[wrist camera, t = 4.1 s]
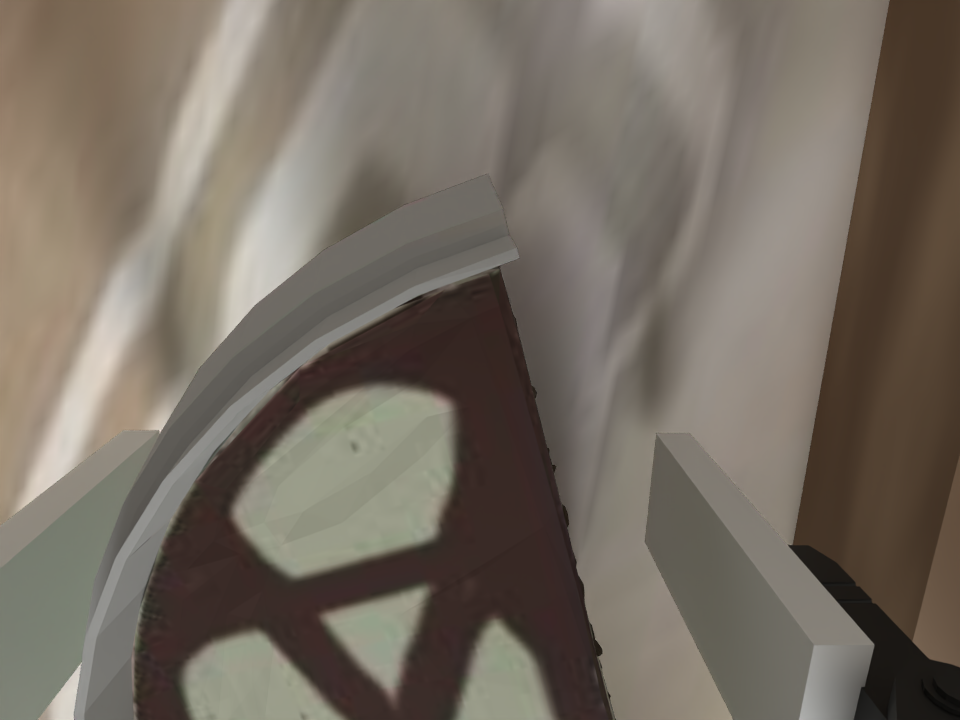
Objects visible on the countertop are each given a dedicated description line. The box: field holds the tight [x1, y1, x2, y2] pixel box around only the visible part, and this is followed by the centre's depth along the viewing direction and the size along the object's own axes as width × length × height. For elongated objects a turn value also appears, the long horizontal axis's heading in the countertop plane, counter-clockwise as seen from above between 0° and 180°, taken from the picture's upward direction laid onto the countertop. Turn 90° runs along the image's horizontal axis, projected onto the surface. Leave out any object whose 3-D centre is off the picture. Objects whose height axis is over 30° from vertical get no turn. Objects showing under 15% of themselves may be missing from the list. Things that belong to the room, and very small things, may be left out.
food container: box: [74, 174, 616, 720], centre depth 11 cm, size 12×6×10 cm, turn 15°
